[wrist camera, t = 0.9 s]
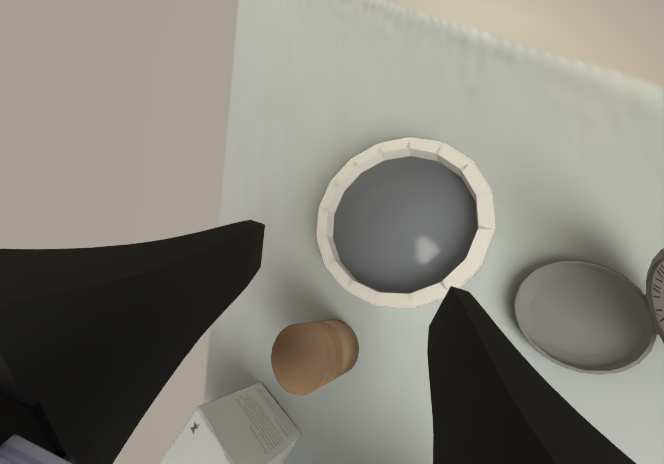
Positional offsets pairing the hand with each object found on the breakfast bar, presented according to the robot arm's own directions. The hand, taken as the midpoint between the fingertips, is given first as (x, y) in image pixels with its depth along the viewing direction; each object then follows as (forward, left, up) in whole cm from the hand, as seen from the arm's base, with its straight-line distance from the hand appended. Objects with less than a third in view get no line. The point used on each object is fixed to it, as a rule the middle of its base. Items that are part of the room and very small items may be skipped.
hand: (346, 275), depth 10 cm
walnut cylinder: (-7, +4, -13) cm, 16 cm away
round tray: (+5, +3, -13) cm, 15 cm away
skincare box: (-17, +7, -14) cm, 23 cm away
